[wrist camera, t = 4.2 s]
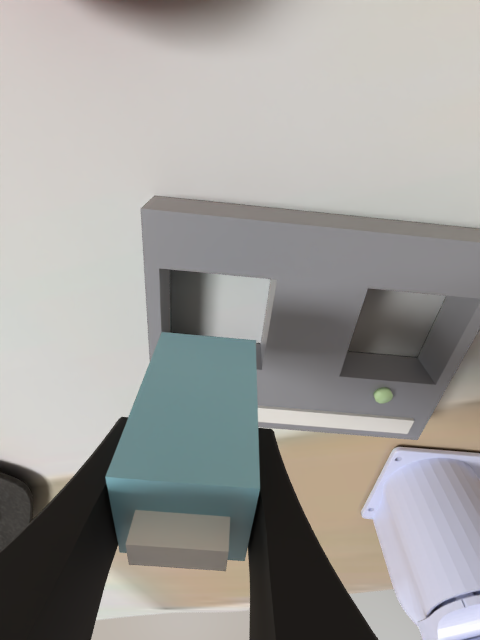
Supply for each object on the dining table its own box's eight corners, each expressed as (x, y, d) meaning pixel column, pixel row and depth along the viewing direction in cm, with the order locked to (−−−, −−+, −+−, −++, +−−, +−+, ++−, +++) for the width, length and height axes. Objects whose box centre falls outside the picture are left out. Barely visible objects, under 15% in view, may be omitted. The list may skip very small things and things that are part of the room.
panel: (402, 410, 24) (419, 443, 22) (161, 390, 24) (152, 422, 21) (491, 229, 17) (530, 249, 15) (154, 195, 17) (138, 210, 14)
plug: (245, 406, 15) (244, 594, 9) (163, 400, 15) (110, 585, 9) (255, 340, 13) (261, 524, 7) (161, 332, 13) (91, 511, 7)
